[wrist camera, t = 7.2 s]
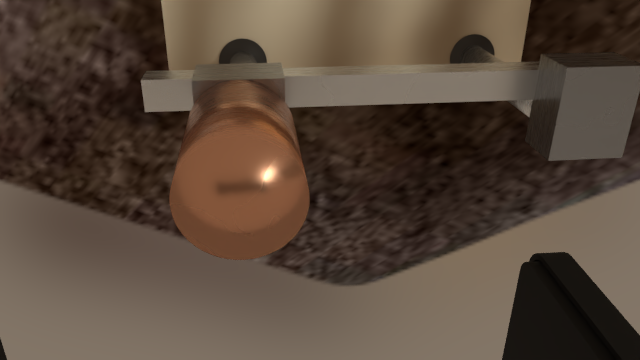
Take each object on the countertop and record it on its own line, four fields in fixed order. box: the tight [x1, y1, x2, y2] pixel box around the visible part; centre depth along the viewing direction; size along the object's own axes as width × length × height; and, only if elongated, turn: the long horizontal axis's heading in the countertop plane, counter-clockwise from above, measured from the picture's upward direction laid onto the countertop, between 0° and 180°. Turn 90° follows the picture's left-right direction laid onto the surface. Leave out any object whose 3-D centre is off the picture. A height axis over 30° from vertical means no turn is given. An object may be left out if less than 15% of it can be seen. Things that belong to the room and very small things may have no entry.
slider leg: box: [169, 51, 310, 260], centre depth 23 cm, size 4×4×18 cm
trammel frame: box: [141, 45, 640, 161], centre depth 26 cm, size 18×4×12 cm, turn 90°
